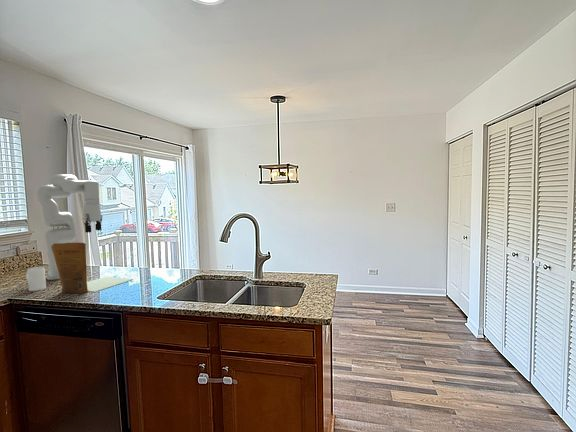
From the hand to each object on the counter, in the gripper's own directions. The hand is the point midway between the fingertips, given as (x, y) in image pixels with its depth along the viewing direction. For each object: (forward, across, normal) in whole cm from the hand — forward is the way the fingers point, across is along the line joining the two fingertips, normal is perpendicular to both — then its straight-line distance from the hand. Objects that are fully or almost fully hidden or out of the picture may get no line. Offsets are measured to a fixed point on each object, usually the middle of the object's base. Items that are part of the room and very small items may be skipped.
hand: (93, 231), depth 201 cm
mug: (+33, +6, -32) cm, 46 cm away
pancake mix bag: (+32, +14, -4) cm, 36 cm away
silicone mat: (+32, -2, +1) cm, 32 cm away
